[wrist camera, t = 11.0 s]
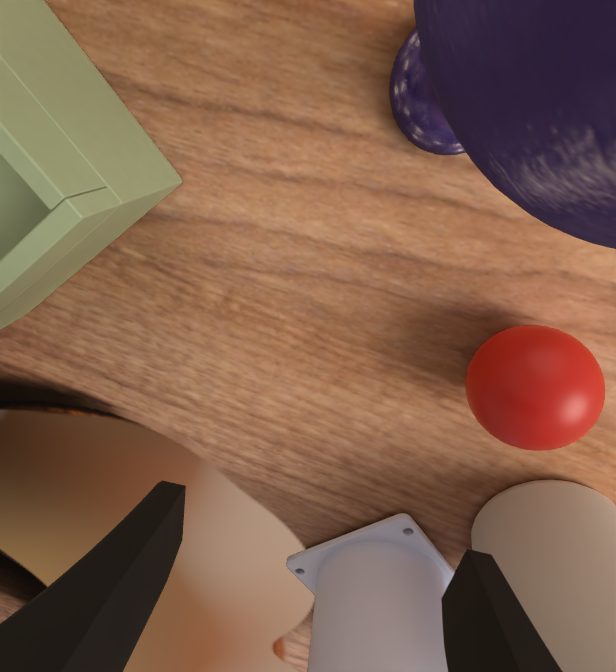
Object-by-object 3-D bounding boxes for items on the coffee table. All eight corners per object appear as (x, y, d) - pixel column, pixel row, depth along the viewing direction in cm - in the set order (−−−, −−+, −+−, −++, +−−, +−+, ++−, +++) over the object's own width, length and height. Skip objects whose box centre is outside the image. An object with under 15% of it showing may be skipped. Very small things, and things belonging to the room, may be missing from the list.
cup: (497, 461, 21) (576, 671, 13) (709, 505, 21) (922, 748, 13) (449, 559, 24) (489, 774, 16) (632, 598, 24) (763, 837, 16)
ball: (571, 350, 19) (647, 437, 15) (472, 401, 20) (521, 491, 17) (540, 279, 16) (623, 364, 13) (429, 343, 18) (476, 435, 14)
